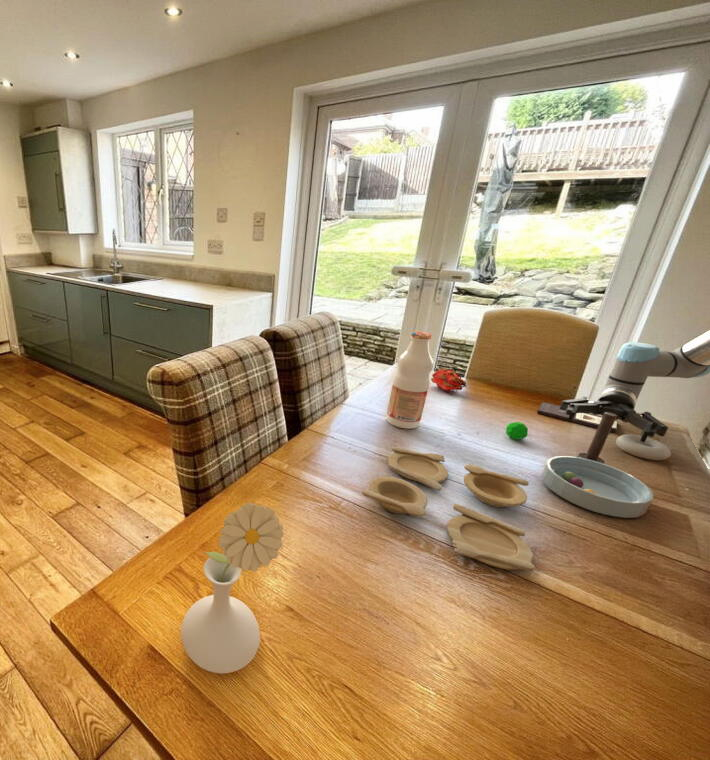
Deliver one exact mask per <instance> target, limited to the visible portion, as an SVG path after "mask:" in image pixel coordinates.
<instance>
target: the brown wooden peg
mask: <svg viewBox="0 0 710 760" xmlns="http://www.w3.org/2000/svg"><path fill="white" fill-rule="evenodd" d="M616 417H617V415H616V414H613V413H610V412H605V413H604V415H603V417H602V420H601V422H600V424H599V426H598V428H596V431H595V432H594V433H595V434H594V435H593V438H592V441H591V442H590V445H589V447H588V449H587V451H586V452H579V453H578V454H577V456H576V457H580V458H585V459H589V460H593V461H597V462H600V463H603V464H606V463H605V460H604V459H603V458H602V457H600V454H601V452H602V450H603V448H604V446H605V443H606V441H607V439H608V437H609V434H610V433H611V432H610V430H611V428H612V426H613V424H614V421H615V420H616Z"/></svg>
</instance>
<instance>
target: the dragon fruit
mask: <svg viewBox="0 0 710 760" xmlns="http://www.w3.org/2000/svg"><path fill="white" fill-rule="evenodd" d="M431 376H432V377H431V378H430V380H431V382H432V383H433V384H436V387H437V389H438V390H441V389H442V390H444V391H446V392H447V393H450V394H456V391H462V390H463V388H467V382H466V381H465V379H462V375H461V374H459V373H458V372H456V371H454V369H448V368H447V367H442V368H438V369H437V370H435V371H434V372H433V373H432V375H431Z"/></svg>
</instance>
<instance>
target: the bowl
mask: <svg viewBox="0 0 710 760" xmlns="http://www.w3.org/2000/svg"><path fill="white" fill-rule="evenodd" d="M567 471H569V472H572V473H574V474H575V475H576V478H579V479H581V480H582V481H583V486H582V487H581V488H579V487H577V486H575V485H573V484H571V483H569V482H567V481H566V480H564V479H563V478H562V474H563V473H564V472H567ZM541 479H542V482H543V483H544V484H545V486H547V488H548V489H549V490H550V491H552V492H554V493H555V494H556V495H558V496H559V497H561V498H562V499H564V500H566V501H567V502H569V503H571V504H573V505H576V506H578V507H581V508H582V509H585V510H588V511H590V512H594V513H598V514H601V515H605V516H611V517H619V518H625V519H627V518H629V519H630V518H631V519H632V518H639V517H641V516H643V515H645V514H646V513H647V511H648V509H649V507H650V505H651V504H652V502H653V500H654V493H653V491H652V490H651V488H650V487H649V486H648V485H647V484H646V483H644V482H643V481H641V480H640V479H639V478H638V477H635V476H633V475H632V474H630V473H629V472H626V471H624V470H622V469H619V468H616V467H614V466H612V465H609V464H606V463H604V464H603V463H600V462H597V461H593V460H589V459H585V458H580V457H577V456H572V455H571V456H570V455H555V456H552V457H549V458H548V459H547V461H546V463H545V465H544V467H543V470H542V473H541ZM584 489H590V490H593V491H594V492H595V493H596V494H594V493H592V492H589V491H586V490H584Z"/></svg>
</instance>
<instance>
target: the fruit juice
mask: <svg viewBox="0 0 710 760" xmlns="http://www.w3.org/2000/svg"><path fill="white" fill-rule="evenodd" d="M410 339H411V341H410V343H409V344H408V346H407V348H406V349H405V350H404V351H403V353H401V355H399V356H398V359H397V371H396V372H395V374H394V377H393V379H392V385H391V390H390V394H389V399H388V404H387V410H386V414H385V419H386V421H387V422H388V423H389V425H392V426H394V427H397V428H401V429H407V430H411V429H416V428H419V426H420V424H421V420H422V416H423V412H424V408H425V404H426V400H427V396H428V392H429V388H430V380H431V379H430V374H431V372H432V370H433V368H434V360H433V358H432V356H431V353H430V346H429V345H430V344H429V343H430V341H431V339H432V334H431V333H429V332H426V331H412V332H411V335H410Z"/></svg>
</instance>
